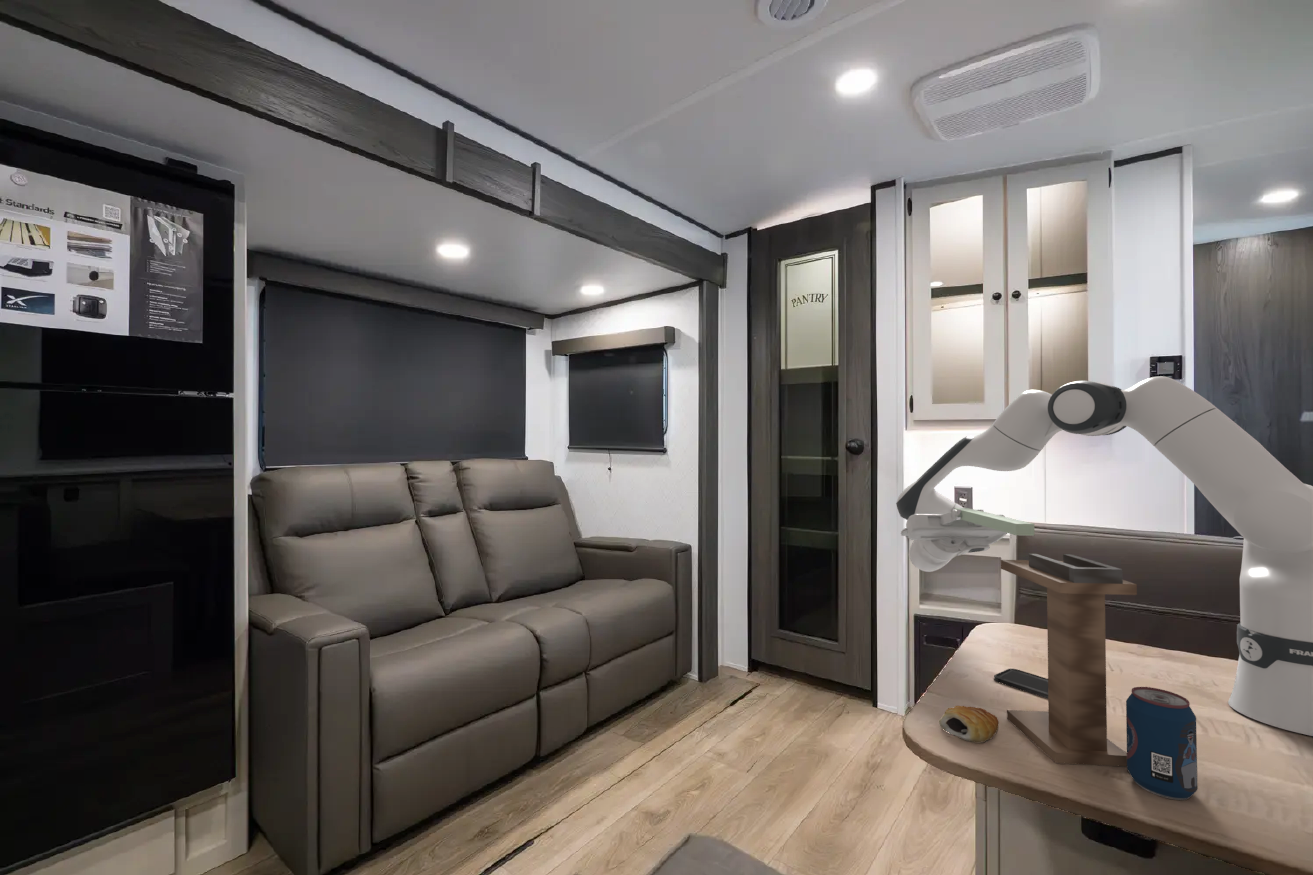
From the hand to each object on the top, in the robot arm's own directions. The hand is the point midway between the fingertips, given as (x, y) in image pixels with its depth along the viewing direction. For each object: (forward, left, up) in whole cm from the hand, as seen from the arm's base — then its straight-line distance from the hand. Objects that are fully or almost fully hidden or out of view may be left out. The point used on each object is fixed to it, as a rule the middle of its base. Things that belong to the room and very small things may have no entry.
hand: (969, 512), depth 116 cm
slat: (0, +8, -1) cm, 8 cm away
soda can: (-6, +41, -32) cm, 52 cm away
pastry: (+13, +28, -32) cm, 44 cm away
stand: (0, +30, -31) cm, 44 cm away
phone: (-8, +11, -32) cm, 35 cm away
